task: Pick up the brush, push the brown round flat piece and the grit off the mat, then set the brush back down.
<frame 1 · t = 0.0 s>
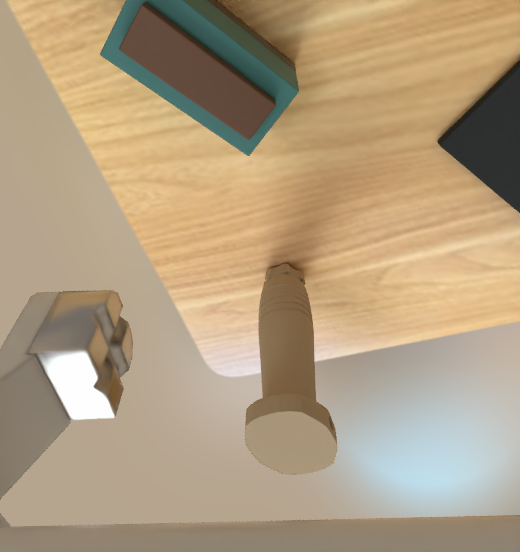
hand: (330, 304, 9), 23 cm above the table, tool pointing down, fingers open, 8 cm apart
handle: (283, 275, 39), on the table
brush: (210, 47, 28), on the table
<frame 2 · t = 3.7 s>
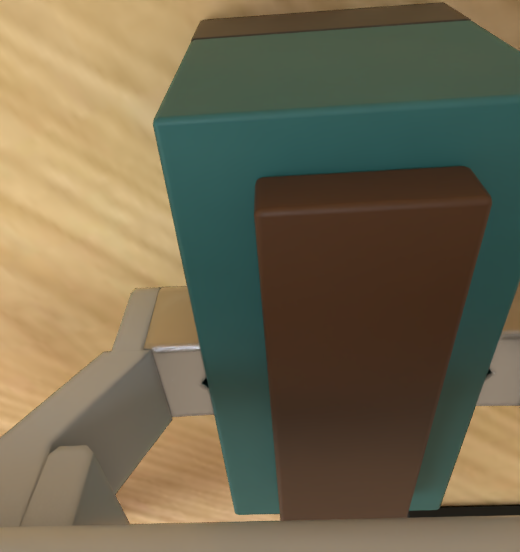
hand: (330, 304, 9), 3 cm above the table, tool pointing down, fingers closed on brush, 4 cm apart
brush: (318, 218, 12), on the table, touching gripper
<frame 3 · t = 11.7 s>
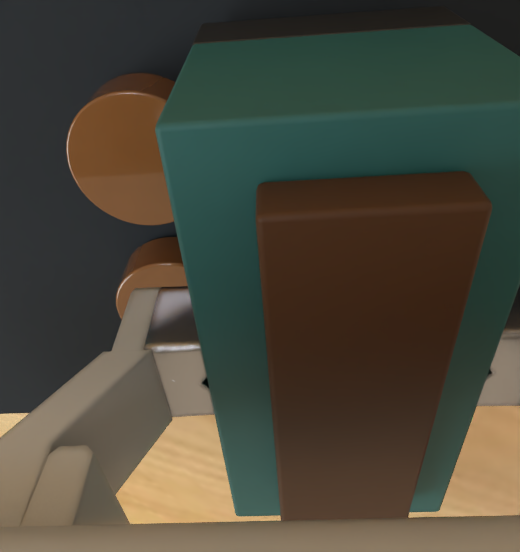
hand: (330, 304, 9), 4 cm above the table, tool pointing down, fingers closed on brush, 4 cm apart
brown round flat piece: (150, 141, 11), point 1 cm above the table, touching mat
mat: (300, 196, 12), on the table
grit b: (180, 280, 13), point 1 cm above the table
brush: (318, 221, 12), point 1 cm above the table, touching gripper
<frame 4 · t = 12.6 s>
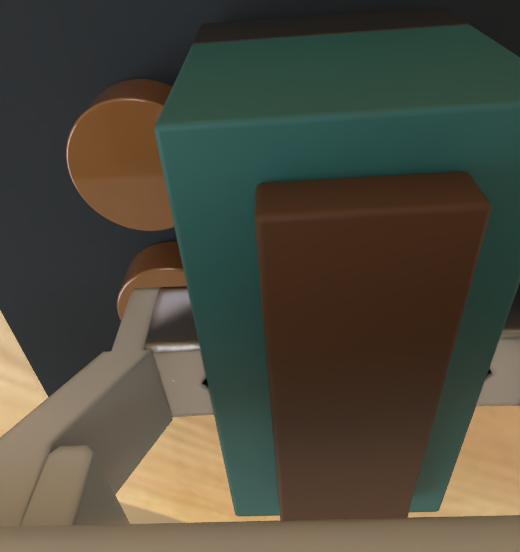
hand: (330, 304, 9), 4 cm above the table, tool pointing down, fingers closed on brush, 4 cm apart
brown round flat piece: (150, 146, 11), point 1 cm above the table, touching mat
mat: (424, 193, 12), on the table
grit b: (181, 284, 13), point 1 cm above the table, touching mat
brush: (318, 221, 12), point 1 cm above the table, touching gripper
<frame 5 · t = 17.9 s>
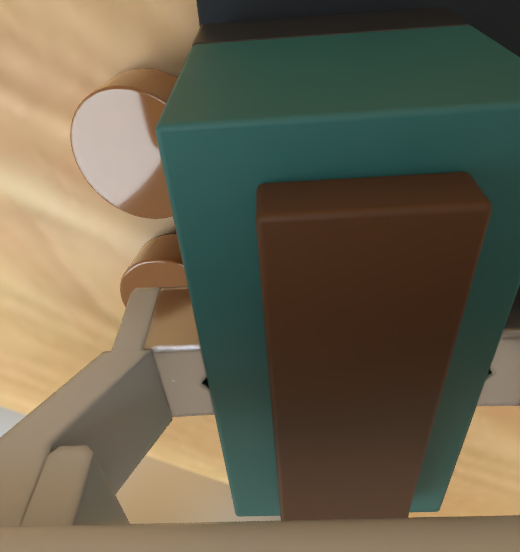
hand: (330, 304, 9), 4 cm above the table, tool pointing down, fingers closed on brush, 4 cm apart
brown round flat piece: (157, 136, 11), on the table, tilted 12°, touching mat
grit b: (187, 277, 14), on the table, tilted 12°, touching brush
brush: (318, 221, 12), point 1 cm above the table, touching gripper, grit b
when the fingers open (3 cm above the table, at t = 26.6 s): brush stays where it is, on the table.
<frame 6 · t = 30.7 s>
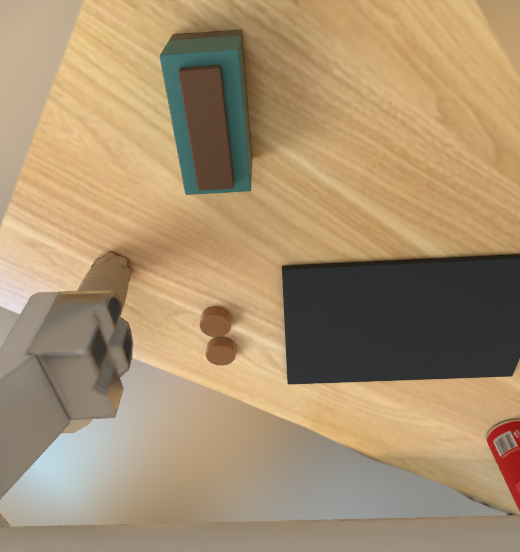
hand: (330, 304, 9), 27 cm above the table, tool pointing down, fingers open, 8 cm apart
brown round flat piece: (216, 317, 47), on the table
mat: (406, 323, 47), on the table
grit b: (221, 347, 50), on the table
beverage can: (511, 428, 59), on the table
handle: (114, 263, 43), on the table
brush: (215, 101, 34), on the table
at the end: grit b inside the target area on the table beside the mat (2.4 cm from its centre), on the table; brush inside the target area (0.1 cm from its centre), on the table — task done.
